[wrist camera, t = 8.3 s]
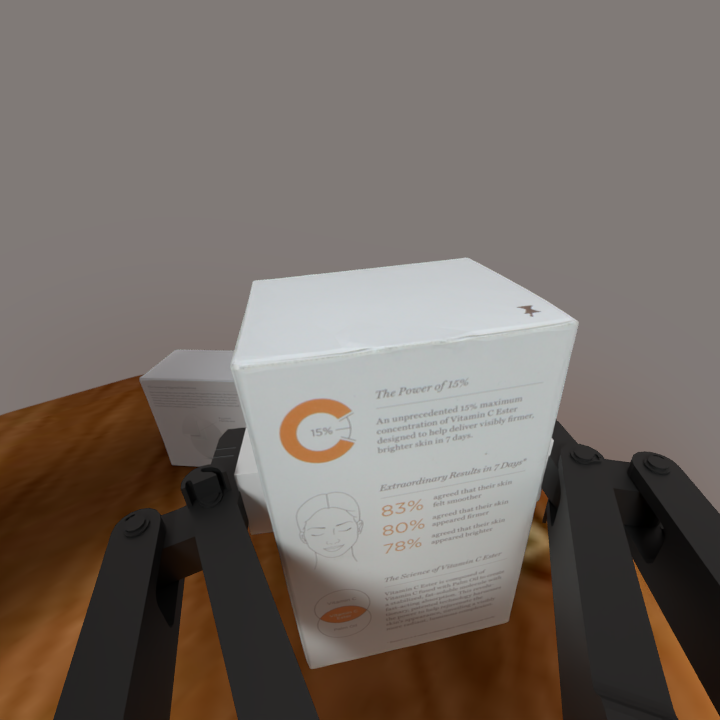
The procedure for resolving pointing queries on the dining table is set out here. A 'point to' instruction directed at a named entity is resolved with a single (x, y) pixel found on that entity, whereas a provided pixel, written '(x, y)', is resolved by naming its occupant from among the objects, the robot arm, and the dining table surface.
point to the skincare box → (193, 403)
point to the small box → (400, 444)
